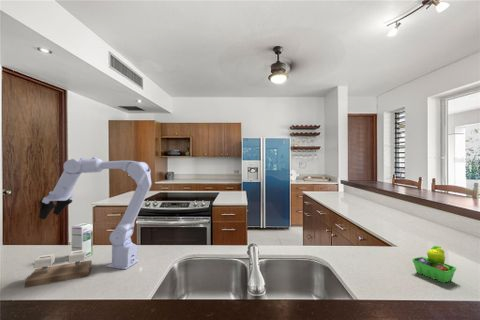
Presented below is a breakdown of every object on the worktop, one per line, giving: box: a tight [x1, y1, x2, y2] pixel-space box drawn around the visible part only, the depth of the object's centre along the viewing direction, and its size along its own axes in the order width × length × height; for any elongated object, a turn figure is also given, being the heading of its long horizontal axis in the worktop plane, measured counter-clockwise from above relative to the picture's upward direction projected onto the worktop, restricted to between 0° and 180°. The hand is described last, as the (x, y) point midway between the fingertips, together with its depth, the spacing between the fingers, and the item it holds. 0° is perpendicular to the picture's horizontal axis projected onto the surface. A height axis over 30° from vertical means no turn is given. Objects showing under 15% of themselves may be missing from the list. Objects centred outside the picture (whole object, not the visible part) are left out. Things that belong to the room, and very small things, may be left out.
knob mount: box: [24, 260, 93, 288], centre depth 85 cm, size 18×10×4 cm, turn 117°
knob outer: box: [34, 253, 56, 269], centre depth 82 cm, size 5×5×3 cm
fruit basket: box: [411, 245, 457, 284], centre depth 86 cm, size 11×9×11 cm
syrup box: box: [71, 222, 94, 258], centre depth 102 cm, size 6×6×14 cm
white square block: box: [68, 250, 87, 264], centre depth 87 cm, size 5×5×3 cm
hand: (49, 216), depth 91 cm, fingers open, 7 cm apart
